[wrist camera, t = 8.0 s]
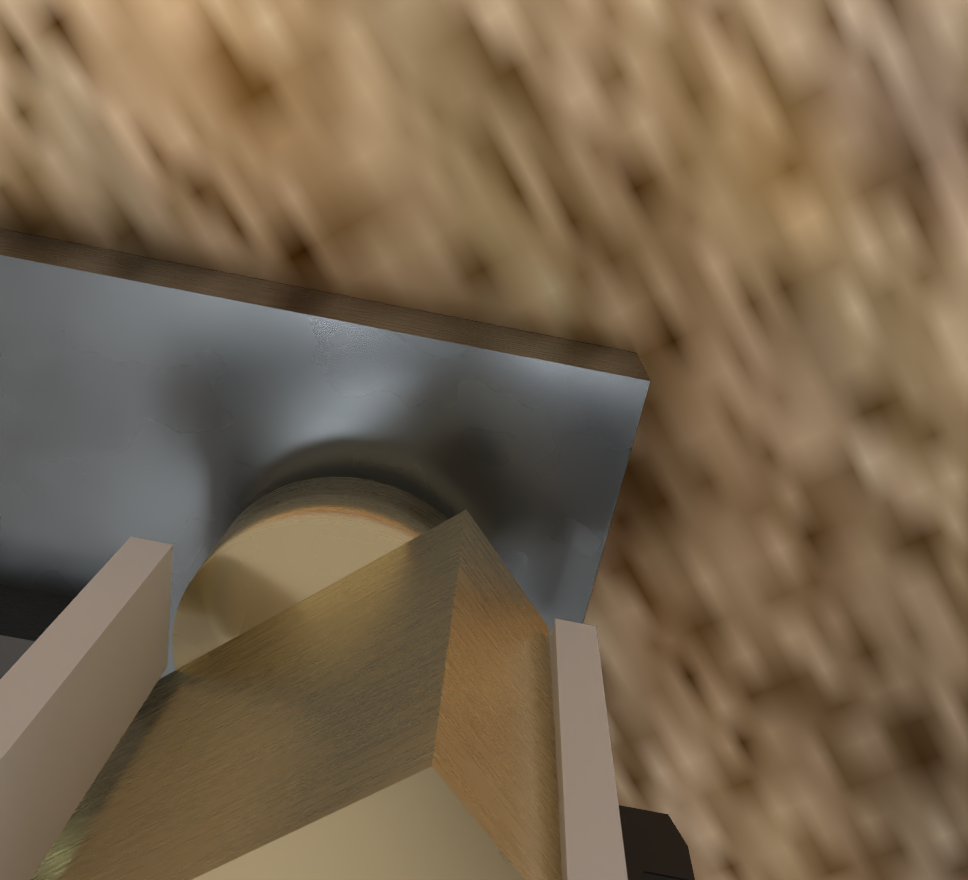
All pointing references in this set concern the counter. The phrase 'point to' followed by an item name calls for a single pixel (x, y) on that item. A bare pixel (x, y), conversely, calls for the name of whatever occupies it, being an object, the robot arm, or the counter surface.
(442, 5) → the counter surface
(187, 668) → the knob
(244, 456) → the levelling plate
